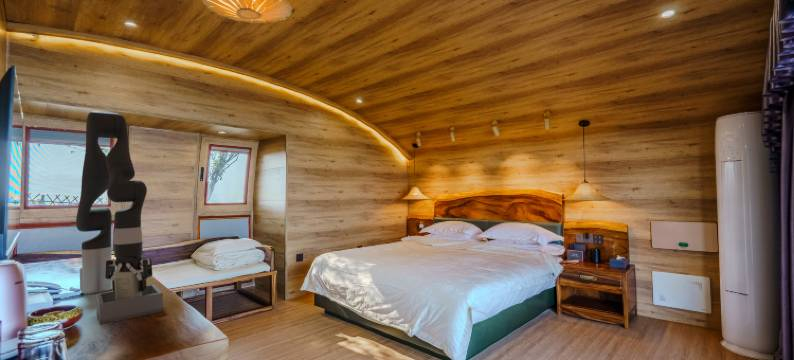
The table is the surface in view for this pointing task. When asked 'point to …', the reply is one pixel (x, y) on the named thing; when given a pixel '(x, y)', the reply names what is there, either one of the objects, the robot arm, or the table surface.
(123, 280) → the skincare box
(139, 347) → the table surface
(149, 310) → the walled box
